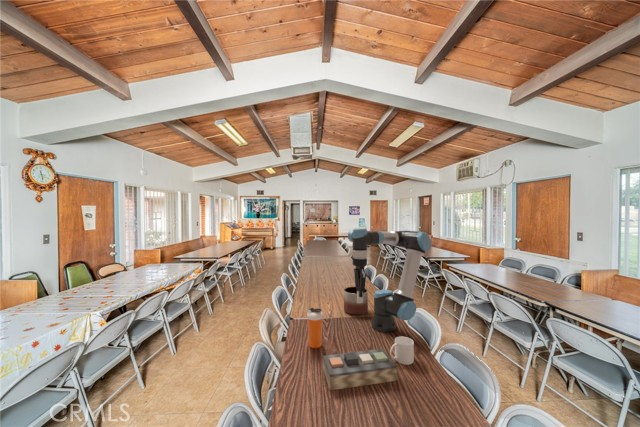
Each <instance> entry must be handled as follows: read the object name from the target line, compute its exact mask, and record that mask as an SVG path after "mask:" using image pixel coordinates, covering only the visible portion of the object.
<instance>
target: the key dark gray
mask: <svg viewBox="0 0 640 427" xmlns="http://www.w3.org/2000/svg"><path fill="white" fill-rule="evenodd" d="M355 352H356V351H353V353H350V352H344V353H345V354H344V361H345V363H346V365H347V366H352V365H358V357H357V356H356V354H355Z"/></svg>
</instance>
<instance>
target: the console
mask: <svg viewBox="0 0 640 427" xmlns="http://www.w3.org/2000/svg"><path fill="white" fill-rule="evenodd" d="M353 352H355V354H356V356H357V357H358V365H352V366H347V365H346V363H345V361H344V354H345V353H346V352H344V353H343V352H342V353H334V354H327V355H323V356H322V357H323V358H322V369H323V373H324V375H325V379H326V382H327V385H328V388H329V391H334V390H342V389H347V388H354V387H356V388H357V387H364V386H369V385H376V384H383V383H390V382H396V381H397V378H398V376H397V369H398V368H397V365H396V363H395V362H394V361H393V360H392V357H391V356H390V355H388V354H387V352H386V351H385V350H384V349H383V348H377V349H370V350H361V351H353ZM353 352H349V353H353ZM378 352H383V353H384V354H385V355H386V357H387V358H388V361H383V362H376V360H375V359H374V357H373V353H378ZM361 354H370V356H371V357H372V359H373V363H367V364H362V363H361V361H360V360H359V355H361ZM336 357H340V358H341V360H342V362H343V367H336V368H331V365H330V363H329V358H336ZM390 357H391V358H390Z"/></svg>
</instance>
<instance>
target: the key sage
mask: <svg viewBox="0 0 640 427" xmlns="http://www.w3.org/2000/svg"><path fill="white" fill-rule="evenodd" d="M373 357H374V359H375V360H376V362H383V361H388V358H387V357H386V355H385V354H384V353H383V352H378V353H373Z"/></svg>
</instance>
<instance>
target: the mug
mask: <svg viewBox="0 0 640 427" xmlns="http://www.w3.org/2000/svg"><path fill="white" fill-rule="evenodd" d="M414 343H415V342H414V340H413V339H412V338H410V337H407V336H402V335H401V336H396V337H395V338H394V344H392V346H391V347H390V349H389V350H390V351H389V356H390V357H391V359H393V360H395V361H396V362H397V363H398V364H402V365H404V366H405V365H406V366H408V365H412V364H413V363H414V361H415V354H414V352H415V350H414V349H415V347H414V346H415V344H414ZM393 350H394V355H393Z"/></svg>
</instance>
